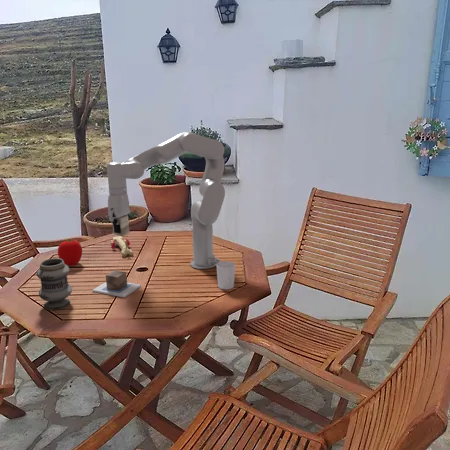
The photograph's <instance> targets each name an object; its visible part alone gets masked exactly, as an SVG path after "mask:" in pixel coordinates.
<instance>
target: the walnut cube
mask: <svg viewBox="0 0 450 450" xmlns="http://www.w3.org/2000/svg"><path fill="white" fill-rule="evenodd" d="M105 282H106V284H107V289H112V290H117V291H119V290H121V289H122V288H124V287H125V286H127V282H128V276H127V271H121V270H112V271H111V272H110V273H107V274H105Z"/></svg>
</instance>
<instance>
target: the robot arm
mask: <svg viewBox="0 0 450 450" xmlns="http://www.w3.org/2000/svg"><path fill="white" fill-rule="evenodd" d="M224 146H225V145H224V144H223V143H222V142H221V141H219V140H217V139H213V138H210V137H207V136H203V135H200V134H198V133H197V134H196V133H194V132H190V131H182V132H180V133H178V134H176V135H174V136H172V138H169V139H167V140H166V141H165V140H164V141H163V142H162V143H160V144H158V145H155V146H153V147H150V148H149V149H147V150H144V151H142V152H140V153H138V154H136V155H135V156H133V157H131V158H129V159H127V160H126V161H125V162H123V161H111V162H108V163H107V164H106V171H107V172H106V173H107V183H108V184H107V185H108V193H109V194H108V196H107V198H108V199H107V215H108V220H109V221H110V222H111V224H112V227H113V226H114V233H121V229H120V224H119V218H120V217H122V216H126V215H127V216H128V220H129V216H130V214H131V212H132V210H131V208H130V200H129V196H128V189H127V180H129V179H130V180H138V179H141V178H142V177H143V176H144V173H145V170H147V169H149V168H151V167H153V166H157V165H163V164H168V163H170V162H171V161H173V160H175V159H176V158H178V157H180V156H182V155H184V154H186V153H189V154H192V155H195V156H198V157H202V158H204V160H205V167H204V168H205V169H204V172H203V175H202V178H201V180H200V181H201V182H200V184H199V187H198V188H199V190H198V191H199V194H200V195H201V196H202V199H198V200H195V201H194V202H193V204H192V205H191V208H190V217H191V224H192V225H191V226H192V227H191V228H192V252H193V255H192V258H193V260H191V261H190V262H189V263H190V266H191V267H192V268H193V269H198V270H206V269H212V268H214V267H217V266H216V264H217V263H219V262H222V261H221V258H217V257H216V255H215V254H214V236H213V235H214V232H213V231H214V230H213V229H214V227H213V225H214V224H215V223H216V221H217V220H218V219H219V216H220V212H221V210H222V206H223V203H224V200H225V196H226V190H225V189H226V188H225V187H224V185H223V184H222V178H223V175H224V172H225V158H224V154H225V147H224ZM115 216H116V217H115ZM115 219H117V221H116V220H115ZM129 221H130V220H129Z"/></svg>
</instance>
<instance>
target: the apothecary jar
mask: <svg viewBox="0 0 450 450" xmlns="http://www.w3.org/2000/svg"><path fill="white" fill-rule="evenodd" d="M69 273H70V266H67V265H66V264H64V261H63V259H60V258H59V257H53V258H48V259H44V260H42V261H40V264H39V268H38V269H37V270H36V276H37V278H38V279H40V284H41V286H40V287H41V288H40V289H39V292H38V296H39V297H40V299H41V300H43V301H46V302H45V303H44V304H43V308H44V309H45V310H48V311H55V310H63V309H65V308H68V307H69V306H70V304H71V300H70V299H68V297H70V296H71V294H72V293H73V292H72V291H73V288H72V285H70V283H69V282H68V274H69Z"/></svg>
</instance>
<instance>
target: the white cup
mask: <svg viewBox="0 0 450 450" xmlns="http://www.w3.org/2000/svg"><path fill="white" fill-rule="evenodd" d="M215 267H216V277H217V279H216V280H217V287H218V289H220V290H232V289H233V288H234V286H235V276H236V264H235V262H233V261H227V260H224V261H221V262H219V263H217V264H216V266H215Z"/></svg>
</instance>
